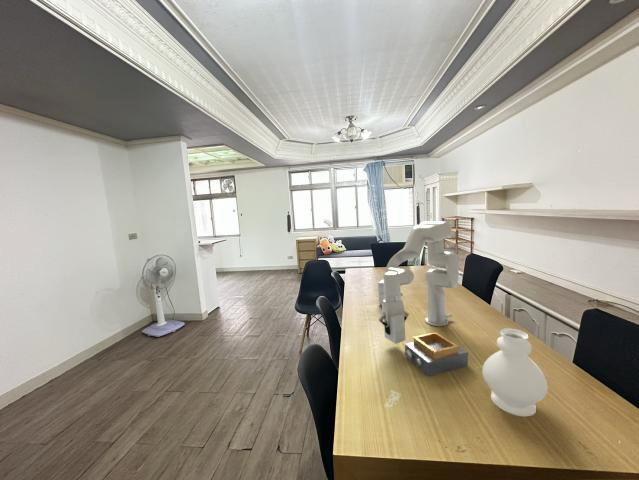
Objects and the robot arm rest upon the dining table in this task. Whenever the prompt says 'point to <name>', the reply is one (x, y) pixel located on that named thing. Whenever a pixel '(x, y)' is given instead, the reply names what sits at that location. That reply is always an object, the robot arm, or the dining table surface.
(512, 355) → the decorative vase
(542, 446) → the dining table surface
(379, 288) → the supplement box
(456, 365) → the frame
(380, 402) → the dining table surface
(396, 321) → the small box
